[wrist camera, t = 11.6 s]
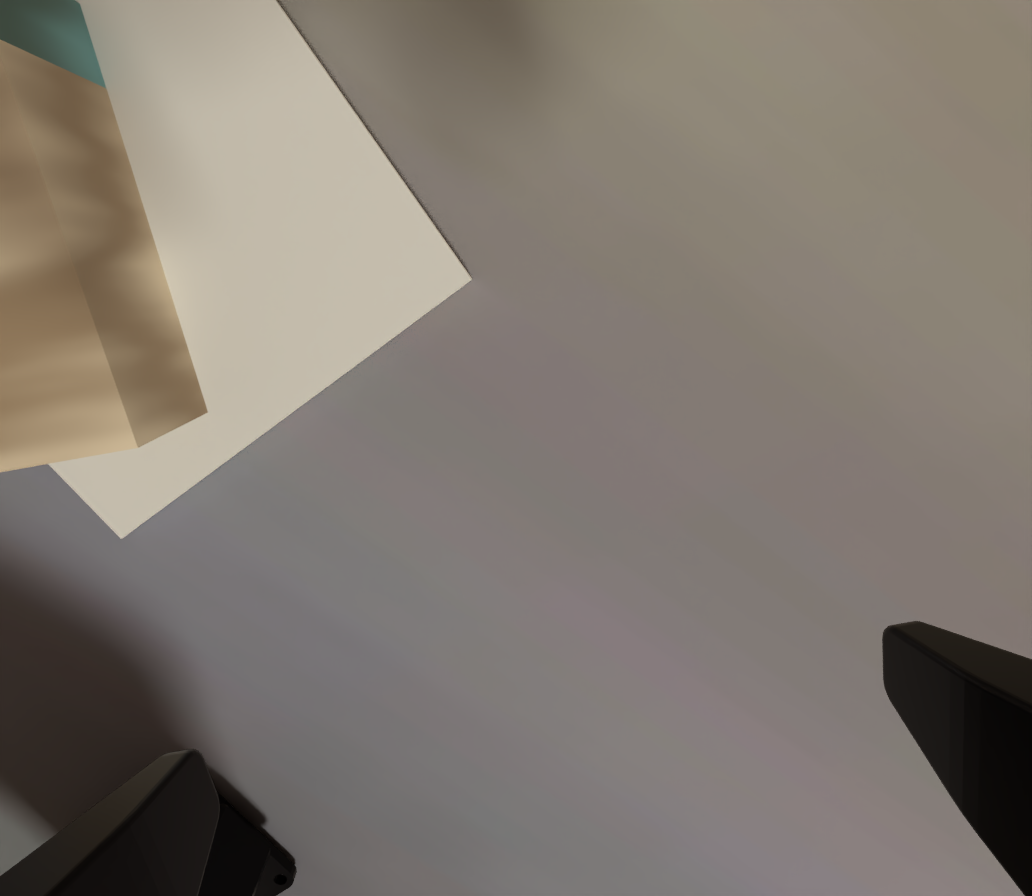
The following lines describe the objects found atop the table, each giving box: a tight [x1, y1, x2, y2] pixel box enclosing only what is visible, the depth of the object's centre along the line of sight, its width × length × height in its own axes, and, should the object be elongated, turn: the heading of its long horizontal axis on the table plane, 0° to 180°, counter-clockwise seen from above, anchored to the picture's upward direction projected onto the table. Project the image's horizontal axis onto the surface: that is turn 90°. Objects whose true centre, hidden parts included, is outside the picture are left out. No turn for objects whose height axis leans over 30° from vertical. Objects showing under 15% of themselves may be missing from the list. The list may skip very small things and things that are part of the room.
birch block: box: [0, 0, 208, 472], centre depth 16 cm, size 4×4×11 cm
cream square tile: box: [49, 0, 472, 539], centre depth 18 cm, size 14×15×1 cm
